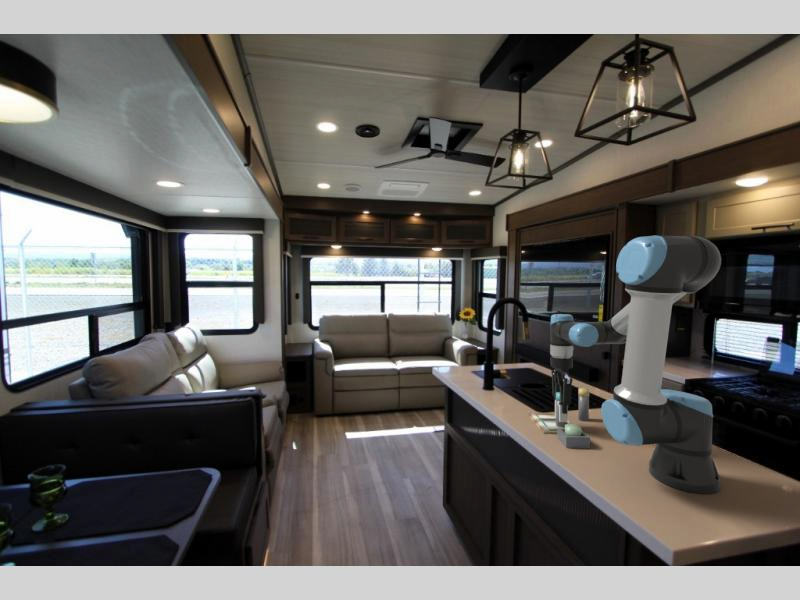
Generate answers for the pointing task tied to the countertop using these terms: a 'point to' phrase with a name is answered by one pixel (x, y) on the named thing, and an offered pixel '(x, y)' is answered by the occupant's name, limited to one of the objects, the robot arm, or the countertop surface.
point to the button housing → (573, 439)
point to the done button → (573, 430)
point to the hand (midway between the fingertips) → (561, 419)
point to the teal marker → (559, 424)
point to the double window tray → (546, 422)
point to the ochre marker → (583, 404)
